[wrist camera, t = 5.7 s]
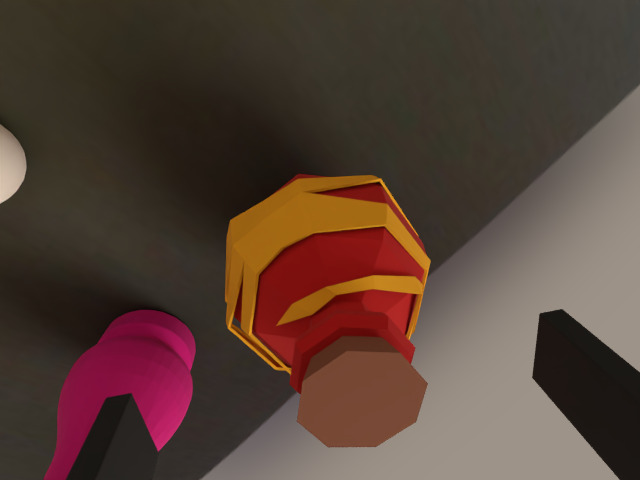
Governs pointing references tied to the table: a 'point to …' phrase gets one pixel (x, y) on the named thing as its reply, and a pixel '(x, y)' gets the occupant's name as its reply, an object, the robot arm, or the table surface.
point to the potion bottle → (333, 302)
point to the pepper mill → (127, 381)
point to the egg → (10, 164)
